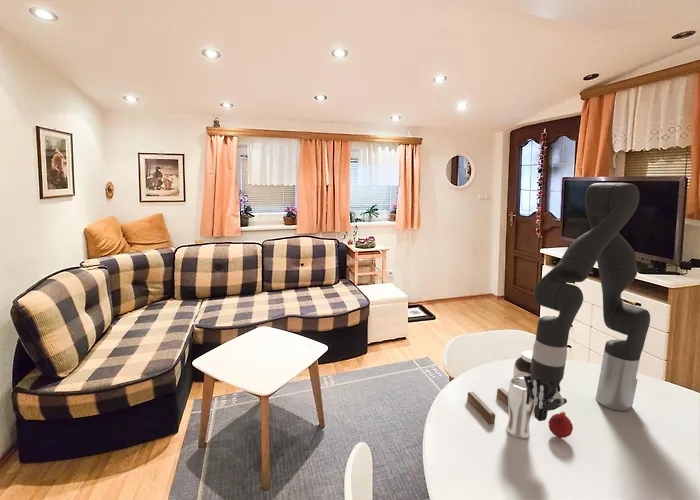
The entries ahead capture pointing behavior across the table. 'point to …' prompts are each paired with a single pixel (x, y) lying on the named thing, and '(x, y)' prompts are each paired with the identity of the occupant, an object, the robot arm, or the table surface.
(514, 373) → the spread jar
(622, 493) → the table surface
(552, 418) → the onion
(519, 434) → the beer glass
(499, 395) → the cradle
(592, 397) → the table surface
